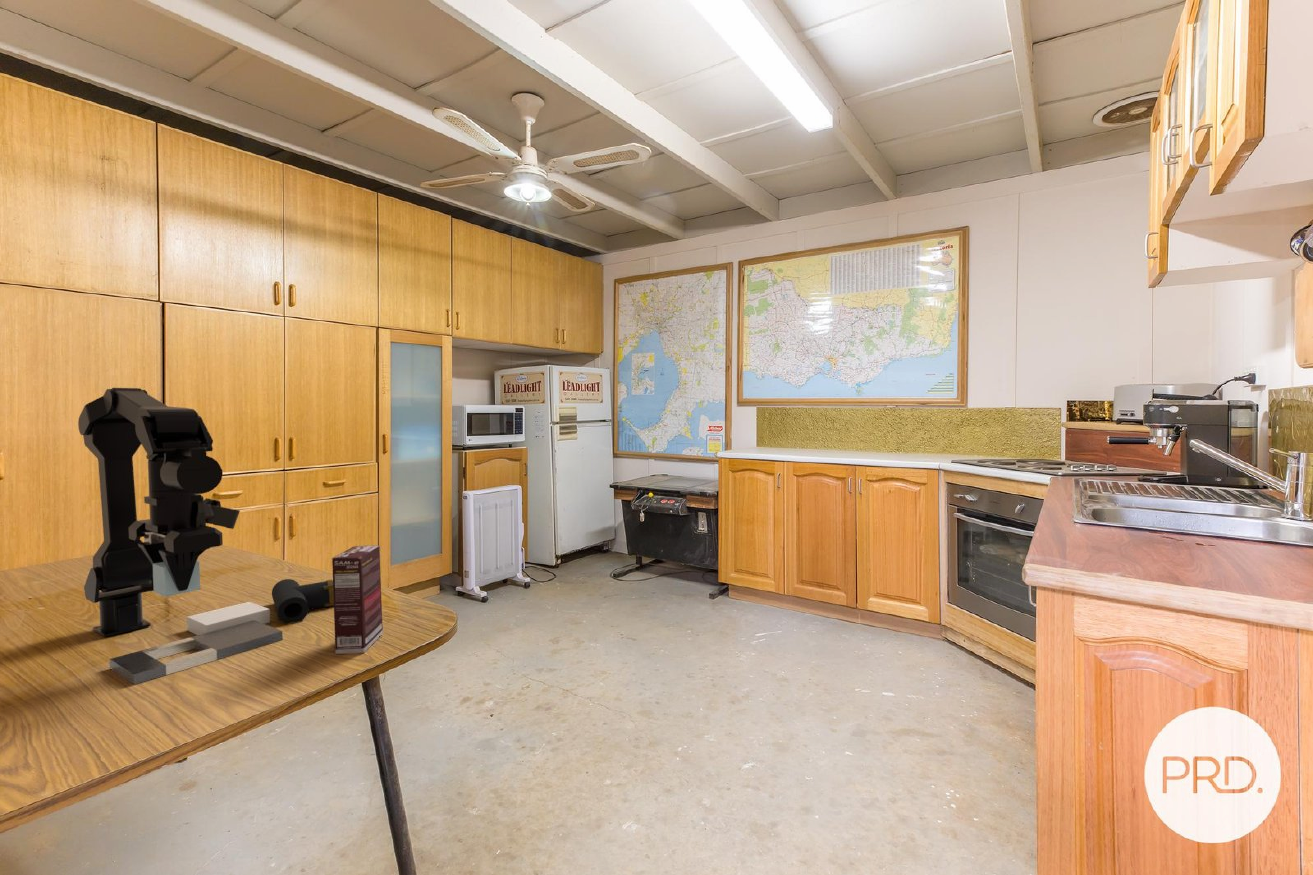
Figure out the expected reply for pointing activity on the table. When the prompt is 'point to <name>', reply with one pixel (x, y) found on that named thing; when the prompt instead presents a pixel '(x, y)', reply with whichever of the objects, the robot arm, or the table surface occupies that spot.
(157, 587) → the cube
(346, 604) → the supplement box
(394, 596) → the table surface
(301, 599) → the pipe connector
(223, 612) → the stand
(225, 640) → the plate
